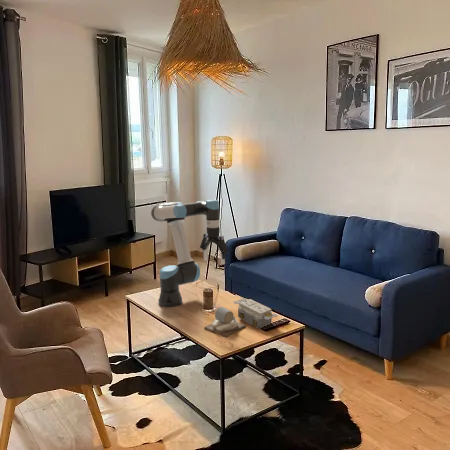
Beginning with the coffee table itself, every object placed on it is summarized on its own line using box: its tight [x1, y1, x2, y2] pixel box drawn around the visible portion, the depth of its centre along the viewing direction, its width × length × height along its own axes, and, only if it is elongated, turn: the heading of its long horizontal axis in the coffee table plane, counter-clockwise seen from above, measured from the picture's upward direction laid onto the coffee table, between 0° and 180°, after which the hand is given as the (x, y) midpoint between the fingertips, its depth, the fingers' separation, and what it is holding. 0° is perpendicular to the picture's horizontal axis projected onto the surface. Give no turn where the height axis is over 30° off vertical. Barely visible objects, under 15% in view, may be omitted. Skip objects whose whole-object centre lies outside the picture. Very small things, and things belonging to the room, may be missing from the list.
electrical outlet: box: [233, 298, 278, 329], centre depth 255 cm, size 12×28×10 cm, turn 39°
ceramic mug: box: [214, 306, 236, 324], centre depth 248 cm, size 11×8×8 cm
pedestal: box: [203, 318, 246, 338], centre depth 248 cm, size 16×16×4 cm
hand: (214, 262), depth 263 cm, fingers open, 13 cm apart
